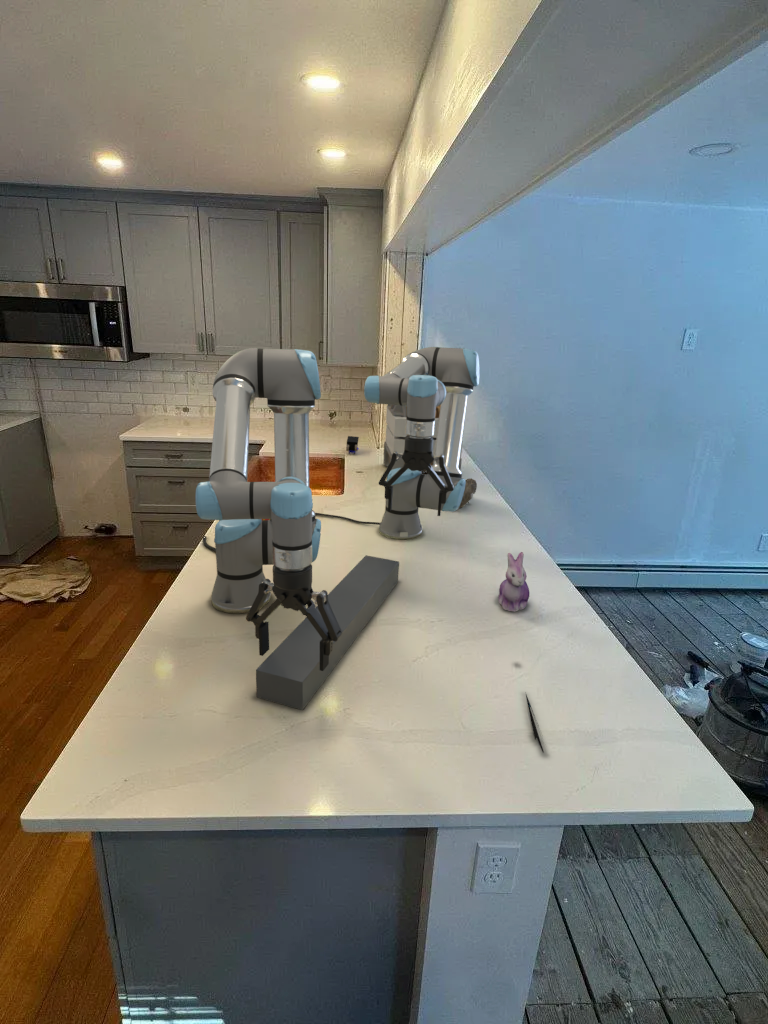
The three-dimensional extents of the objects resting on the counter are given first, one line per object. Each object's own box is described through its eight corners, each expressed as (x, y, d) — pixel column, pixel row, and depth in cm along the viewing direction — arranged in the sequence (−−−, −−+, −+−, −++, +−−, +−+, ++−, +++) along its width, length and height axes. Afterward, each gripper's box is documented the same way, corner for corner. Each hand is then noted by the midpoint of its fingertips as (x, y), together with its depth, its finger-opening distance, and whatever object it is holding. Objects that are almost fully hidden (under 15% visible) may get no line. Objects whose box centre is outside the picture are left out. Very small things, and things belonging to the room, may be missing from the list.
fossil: (440, 484, 244) (470, 465, 239) (453, 501, 247) (482, 482, 242) (440, 506, 224) (472, 486, 219) (454, 524, 227) (486, 504, 222)
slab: (365, 575, 168) (365, 555, 166) (398, 581, 165) (399, 561, 163) (256, 697, 114) (255, 669, 112) (302, 710, 111) (302, 682, 109)
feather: (517, 669, 129) (522, 662, 128) (543, 757, 102) (550, 750, 102) (511, 665, 129) (516, 659, 128) (535, 752, 102) (542, 745, 101)
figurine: (511, 616, 149) (518, 564, 143) (487, 598, 157) (493, 549, 152) (539, 609, 153) (547, 558, 148) (514, 592, 161) (521, 544, 156)
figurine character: (358, 457, 303) (358, 448, 316) (358, 444, 299) (359, 435, 313) (345, 457, 302) (346, 447, 316) (345, 443, 299) (347, 434, 313)
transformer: (382, 463, 289) (386, 382, 275) (445, 464, 293) (451, 384, 279) (390, 482, 257) (394, 392, 243) (460, 483, 261) (468, 394, 247)
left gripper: (225, 560, 109) (230, 655, 116) (344, 583, 101) (342, 684, 108) (246, 546, 116) (250, 637, 123) (360, 567, 108) (357, 663, 115)
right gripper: (370, 435, 147) (367, 512, 154) (467, 442, 144) (459, 520, 151) (374, 429, 154) (371, 504, 161) (467, 436, 151) (460, 511, 158)
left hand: (293, 659), depth 115 cm, fingers open, 13 cm apart
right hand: (414, 512), depth 156 cm, fingers open, 13 cm apart
